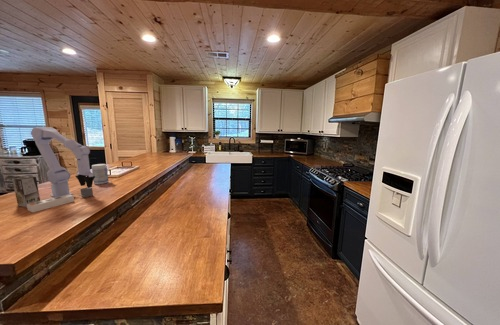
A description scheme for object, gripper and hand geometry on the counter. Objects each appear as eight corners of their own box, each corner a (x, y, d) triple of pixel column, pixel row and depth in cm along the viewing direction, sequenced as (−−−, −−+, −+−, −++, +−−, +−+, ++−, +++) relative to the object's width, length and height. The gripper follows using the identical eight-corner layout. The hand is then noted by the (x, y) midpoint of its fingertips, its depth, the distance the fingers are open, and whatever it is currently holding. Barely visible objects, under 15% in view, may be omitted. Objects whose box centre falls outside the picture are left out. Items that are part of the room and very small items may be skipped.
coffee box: (41, 203, 118) (36, 176, 115) (26, 207, 112) (21, 179, 109) (32, 201, 121) (27, 175, 118) (17, 205, 115) (11, 177, 112)
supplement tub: (109, 183, 161) (107, 164, 158) (94, 185, 154) (92, 166, 152) (107, 180, 168) (105, 163, 165) (93, 182, 161) (90, 164, 159)
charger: (81, 198, 126) (80, 190, 125) (77, 197, 128) (76, 189, 127) (93, 195, 132) (92, 188, 131) (89, 194, 134) (88, 187, 133)
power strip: (32, 212, 106) (31, 205, 105) (27, 210, 109) (26, 203, 108) (74, 201, 122) (73, 195, 121) (69, 199, 125) (68, 193, 124)
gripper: (69, 165, 127) (72, 186, 129) (82, 167, 121) (85, 189, 123) (83, 163, 133) (85, 183, 136) (95, 165, 127) (98, 186, 130)
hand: (86, 186), depth 130 cm, fingers open, 7 cm apart
